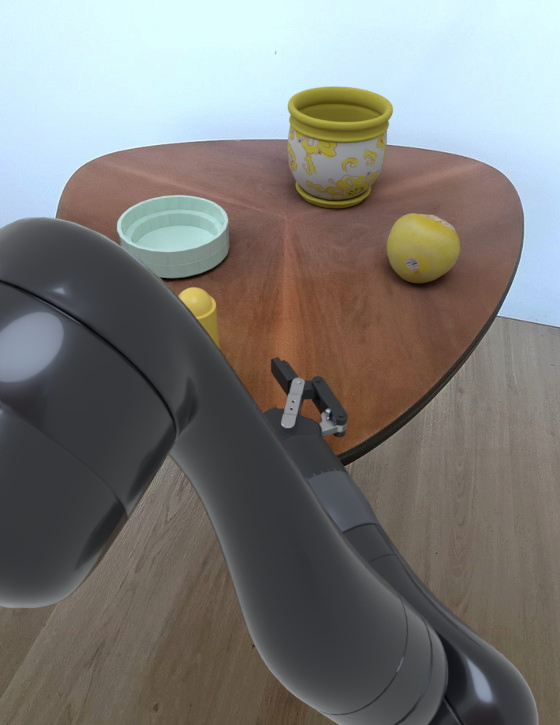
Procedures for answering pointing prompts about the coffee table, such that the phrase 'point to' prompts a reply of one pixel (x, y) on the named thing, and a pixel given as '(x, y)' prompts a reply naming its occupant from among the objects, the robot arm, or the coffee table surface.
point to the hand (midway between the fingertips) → (235, 376)
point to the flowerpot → (337, 143)
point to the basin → (176, 234)
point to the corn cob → (202, 310)
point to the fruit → (422, 247)
